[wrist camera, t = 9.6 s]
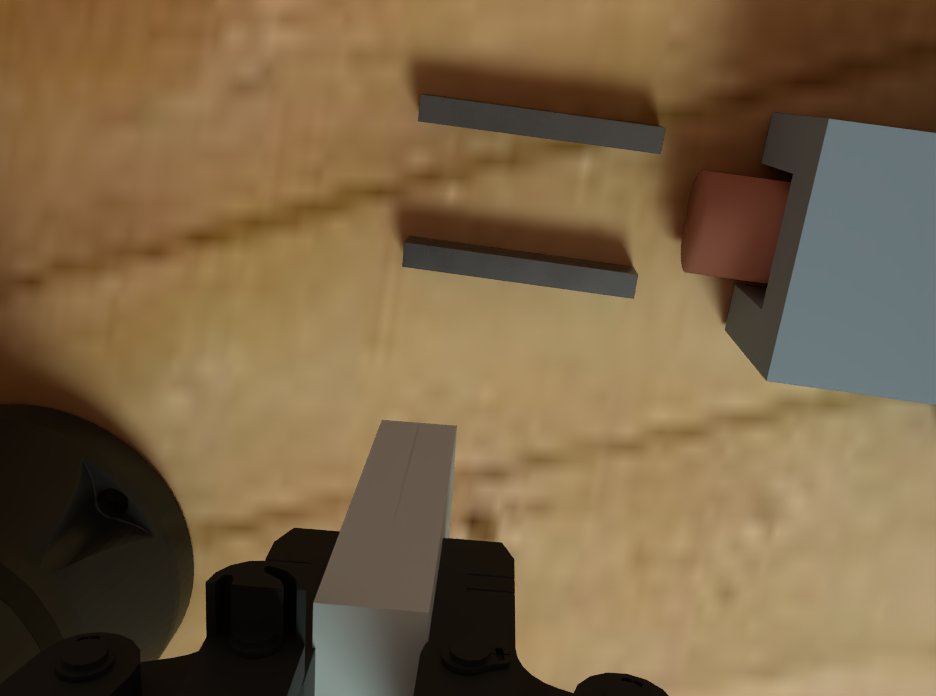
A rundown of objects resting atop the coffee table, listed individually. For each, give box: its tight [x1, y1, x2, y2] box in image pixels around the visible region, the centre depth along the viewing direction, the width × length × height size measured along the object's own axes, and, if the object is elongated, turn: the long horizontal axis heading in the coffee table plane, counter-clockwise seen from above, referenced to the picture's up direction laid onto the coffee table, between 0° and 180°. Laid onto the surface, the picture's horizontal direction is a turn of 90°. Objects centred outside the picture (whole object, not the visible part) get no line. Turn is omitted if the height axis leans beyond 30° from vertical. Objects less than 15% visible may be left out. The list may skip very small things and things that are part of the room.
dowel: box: [681, 170, 791, 284], centre depth 35 cm, size 10×4×4 cm, turn 83°
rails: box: [402, 94, 666, 299], centre depth 36 cm, size 10×7×2 cm
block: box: [725, 112, 936, 405], centre depth 33 cm, size 9×9×7 cm
